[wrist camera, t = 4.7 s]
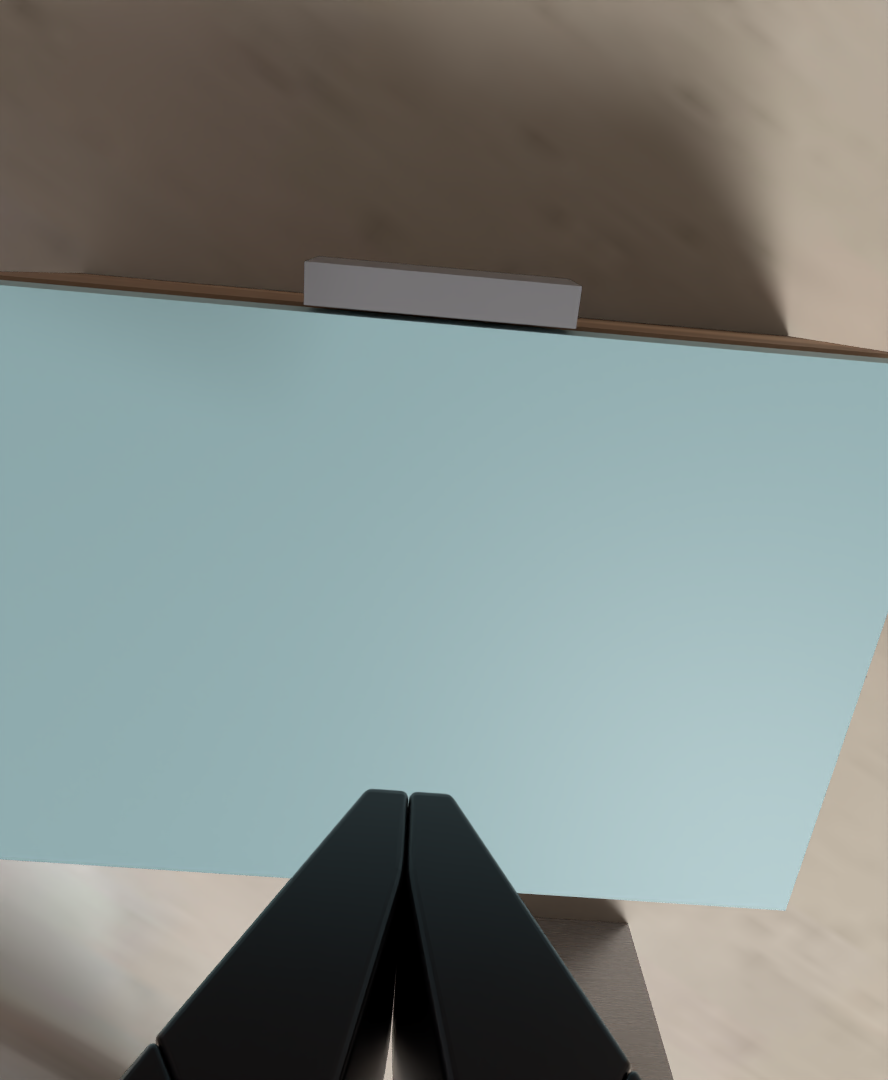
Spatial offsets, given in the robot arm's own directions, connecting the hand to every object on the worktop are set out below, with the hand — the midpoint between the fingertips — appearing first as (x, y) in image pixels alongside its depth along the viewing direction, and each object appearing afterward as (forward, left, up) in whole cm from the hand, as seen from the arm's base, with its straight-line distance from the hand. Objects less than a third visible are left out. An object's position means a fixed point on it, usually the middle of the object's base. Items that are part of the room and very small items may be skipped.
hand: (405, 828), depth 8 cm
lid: (-1, 0, -7) cm, 7 cm away
